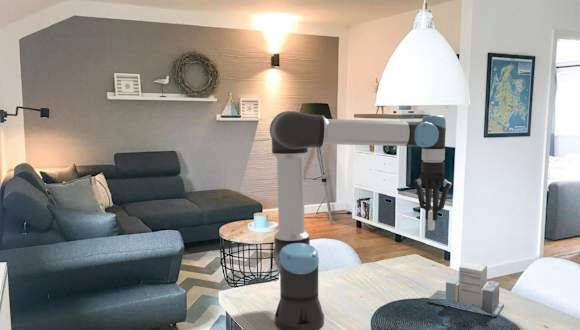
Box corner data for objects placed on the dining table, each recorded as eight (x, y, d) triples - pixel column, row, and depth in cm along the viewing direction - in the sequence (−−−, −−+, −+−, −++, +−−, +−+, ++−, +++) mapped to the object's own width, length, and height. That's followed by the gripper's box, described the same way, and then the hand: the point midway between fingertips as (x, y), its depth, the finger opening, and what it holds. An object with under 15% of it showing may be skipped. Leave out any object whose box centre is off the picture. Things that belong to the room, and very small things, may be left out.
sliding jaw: (456, 304, 158) (457, 284, 157) (445, 302, 160) (445, 282, 159) (464, 295, 166) (465, 276, 166) (454, 293, 168) (454, 274, 168)
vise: (496, 317, 151) (497, 293, 150) (427, 302, 163) (427, 279, 162) (503, 306, 160) (504, 282, 159) (437, 292, 172) (438, 270, 171)
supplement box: (464, 297, 165) (465, 261, 164) (486, 301, 161) (488, 264, 160) (457, 303, 159) (458, 266, 158) (480, 308, 155) (482, 270, 154)
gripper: (455, 161, 163) (453, 229, 165) (418, 159, 170) (416, 224, 173) (448, 163, 157) (446, 234, 159) (410, 161, 164) (409, 228, 167)
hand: (431, 229), depth 166 cm, fingers closed
